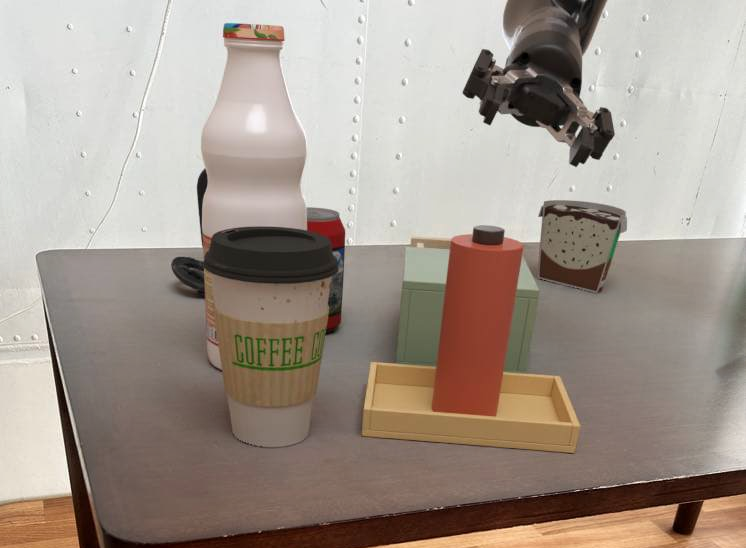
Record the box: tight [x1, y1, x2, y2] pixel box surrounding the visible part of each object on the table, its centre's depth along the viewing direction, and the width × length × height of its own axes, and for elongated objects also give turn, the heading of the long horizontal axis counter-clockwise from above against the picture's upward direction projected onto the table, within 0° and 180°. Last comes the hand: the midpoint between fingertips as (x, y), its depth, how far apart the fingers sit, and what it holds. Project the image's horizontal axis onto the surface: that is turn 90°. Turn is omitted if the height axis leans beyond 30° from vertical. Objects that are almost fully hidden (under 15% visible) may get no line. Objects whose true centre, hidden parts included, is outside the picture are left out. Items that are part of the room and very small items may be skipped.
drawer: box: [409, 235, 452, 250], centre depth 95 cm, size 18×11×7 cm, turn 175°
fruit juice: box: [200, 22, 308, 371], centre depth 73 cm, size 9×9×28 cm
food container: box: [536, 199, 628, 294], centre depth 110 cm, size 12×6×10 cm, turn 46°
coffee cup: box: [202, 226, 339, 448], centre depth 62 cm, size 10×10×15 cm
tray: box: [361, 361, 581, 454], centre depth 70 cm, size 17×11×2 cm, turn 85°
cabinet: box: [395, 246, 541, 374], centre depth 84 cm, size 15×13×9 cm
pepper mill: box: [432, 224, 525, 417], centre depth 67 cm, size 6×6×15 cm
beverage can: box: [306, 206, 346, 334], centre depth 87 cm, size 7×7×12 cm
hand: (536, 134), depth 71 cm, fingers open, 8 cm apart
